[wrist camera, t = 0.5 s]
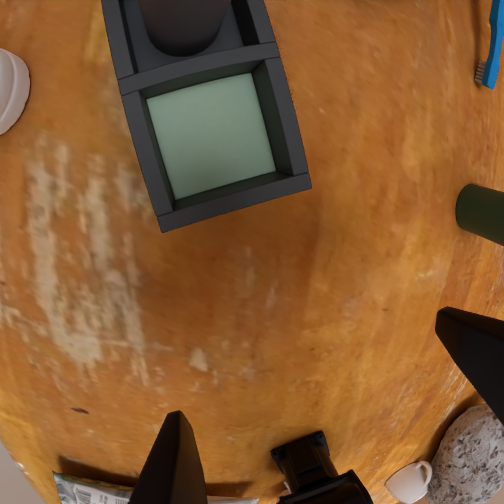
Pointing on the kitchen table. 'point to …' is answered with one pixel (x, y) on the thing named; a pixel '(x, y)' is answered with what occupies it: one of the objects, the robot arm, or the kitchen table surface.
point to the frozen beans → (112, 492)
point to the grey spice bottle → (183, 24)
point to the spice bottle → (482, 212)
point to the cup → (410, 482)
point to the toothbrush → (493, 47)
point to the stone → (469, 460)
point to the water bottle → (12, 88)
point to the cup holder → (208, 115)
